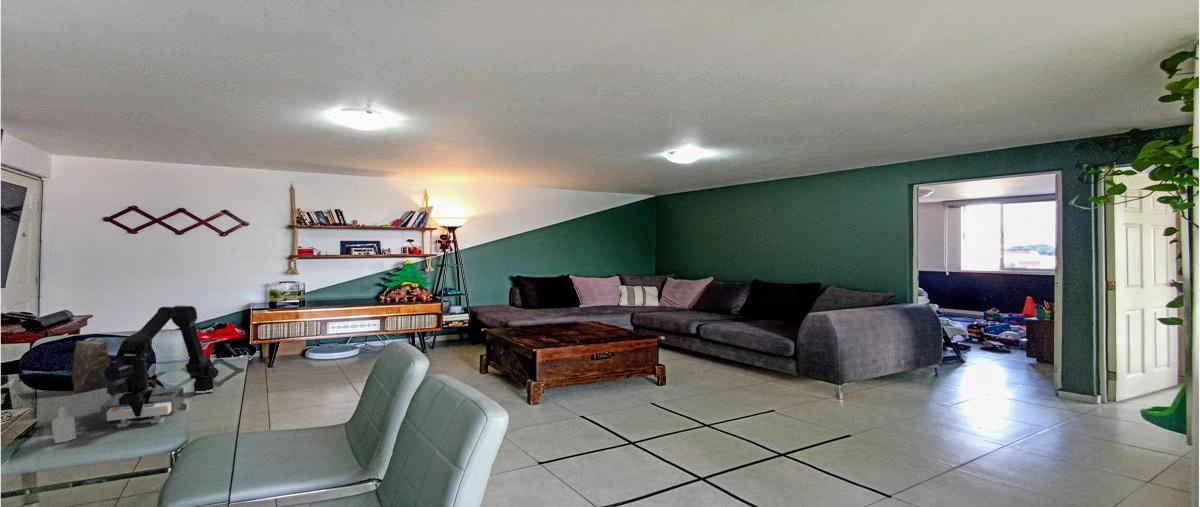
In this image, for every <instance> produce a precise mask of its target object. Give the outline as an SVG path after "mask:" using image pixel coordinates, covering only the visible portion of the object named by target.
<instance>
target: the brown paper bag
mask: <svg viewBox="0 0 1200 507" xmlns="http://www.w3.org/2000/svg"><path fill="white" fill-rule="evenodd" d="M110 362H111V359H110V357H109V351H108V342H106V341H103V340H100V339H99V340H94V341H93V340H91V341H90V340H89V341H84V340H76V341H75V348H74V353H73V366H72V373H71V381H72V385H73V393H74V395H80V394H84V393H87V392H88V393H89V392H92V391H98V390H102V389H105V388H106V389H107V388H108V386H109V385H108V383H109V381H108V380H107V379H106V378H105V376H104V372H105V369H106V368H107V367H109V363H110Z"/></svg>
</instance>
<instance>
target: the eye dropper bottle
mask: <svg viewBox="0 0 1200 507" xmlns="http://www.w3.org/2000/svg"><path fill="white" fill-rule="evenodd" d="M51 428H52V430H51V431H52V439H54V440H64V439H68V438H71V437H75V436H76V437H77V429H76V420H75V417H74V416H72V415H68V409H67V408H66V409H65V407H64V406H60V407H59V410H58V411H57V417H56V418H55V419H53V420H52V421H51Z"/></svg>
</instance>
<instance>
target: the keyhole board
mask: <svg viewBox="0 0 1200 507" xmlns="http://www.w3.org/2000/svg"><path fill="white" fill-rule="evenodd" d="M152 390H153V393H152V395H151V397H150V399H149V402H148V404H156V403H166V402H171V409H172V410H171V411H170V413H169V415H174V414H176V412H178V410H179V409H180V408H181V406H182V405H183V404H184V403H183V401H184V402H185V397H184V396H185V395H184V387H183V386H182V387H173V388H172V387H171V388H162V389H160V388H159V389H152ZM128 393H131V392H128ZM124 394H125V393H124V392H121V393H118V394H115V395H114V396H110V398H109V399H107V400H106V401H105V402H104V403H103V404H101V405H100V416H101V417H100V418H101V423H106V422H108V421H107V413H106V412H107V411H109V410H110V409H111V408H116V407H127V406H130V405H129V404H122V405H120V404H119V401H118V399H119V398H120V397H121V396H122V395H124ZM182 403H183V404H182ZM181 404H182V405H181Z"/></svg>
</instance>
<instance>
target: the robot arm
mask: <svg viewBox="0 0 1200 507" xmlns="http://www.w3.org/2000/svg"><path fill="white" fill-rule="evenodd" d="M197 319H198V314H197V309H196V307H195V306H192V305H174V306H161V307H159V308H158V309H157V312H156V313H155V314H154V315H153V316H152V317H151V318H150V319H149V320H148V321H147V322H146V324H145V325H144V326H143V327H142V328H141V329H140V330H139V331H137V332H135V333H133V334H130V335H128V337H126V338H125V339H124V340H123V341H122V342H121V344H120V347H119V349H118V351H117V353H116V354H115V357H114V358H113V359H114V360H113V361H110V363H109V366H108V367H107V368H106V369H105V372H104V376H105V378H106V379H107V380H108V382H110V383H113V384H111V385H108V387H106V394H107V395H109V396H110V397H112V396H114V395H115V394H118V393H125V394H124V395H122V396H121V397H120V398H119V399H118V401H119V404H120V405H122V404H129V405H130V406H131V408H132V410H133V412H134V414H135V416H136V417H139V416H140V414H141V411H142V408H143V405H146V404H148V402H149V399H150V397H151V395H152V393H153V390H155V388H157V386H158V384H157V381H156V380H155V379H148V377H149V376H150V372H148V371H147V370H148V369H147V359H149V358H150V357H151V355H150V354H149V353H147V352H148V351H149V349H150V348H151V346H152V344H153V340H154V337H156V335H157V334H158V333H159V332H160V331H161V330H162V329H163V327H165V325H166V324H167V323H168V322H169V321H170V320H171V321H172V323H173V324H174V325H175V326H177V327H178V328H179V329H180V332H181V336H182V339H183V341H184V344H185V347H186V351H187V354H188V357H189V360H188V361H187V363H186V364H185V368H186V372H187V373H188V375H189V377H190V379H194V382H193V391H194V392H195V391H206V390H210V389H213V388H214V387H216V384H215V383H216V382H215V381H216V380H215V378H217V377H218V376H219V373H220V372H219V369H218V368H216V366H214V365H213V362H212V360H211V359H210V358H209V357H208V356H207V355H206V354H204V351H203V346H202V344H201V340H200V337H199V335H198V332H197V331H198V330H197V328H196V322H197ZM121 380H122V381H121ZM115 382H116V383H115ZM150 387H151V388H152V389H149V388H150ZM129 392H131V393H129Z"/></svg>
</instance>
